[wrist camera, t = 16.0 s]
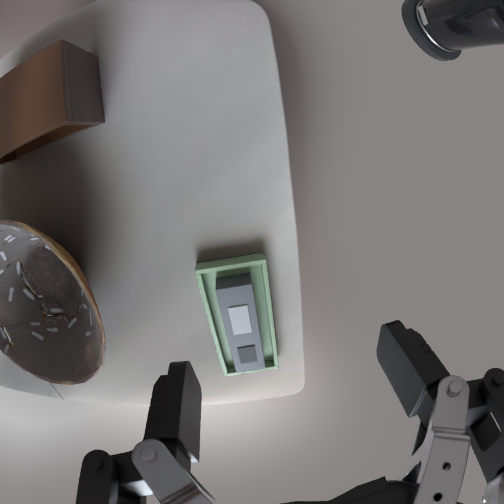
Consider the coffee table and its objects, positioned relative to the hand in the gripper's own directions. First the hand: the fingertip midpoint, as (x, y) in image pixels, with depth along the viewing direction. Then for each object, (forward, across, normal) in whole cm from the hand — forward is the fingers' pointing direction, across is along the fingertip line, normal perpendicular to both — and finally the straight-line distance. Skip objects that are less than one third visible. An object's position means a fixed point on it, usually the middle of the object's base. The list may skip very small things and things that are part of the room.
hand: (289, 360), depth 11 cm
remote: (+23, +3, +16) cm, 28 cm away
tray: (+24, +4, +16) cm, 29 cm away
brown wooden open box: (+24, +23, -18) cm, 38 cm away
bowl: (+24, +30, +5) cm, 39 cm away
